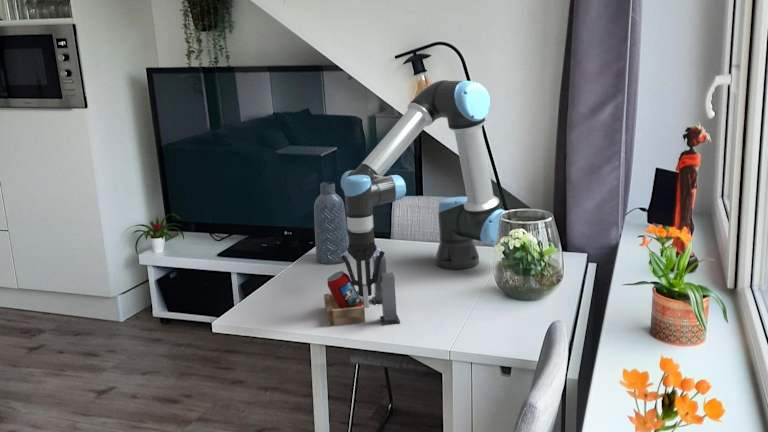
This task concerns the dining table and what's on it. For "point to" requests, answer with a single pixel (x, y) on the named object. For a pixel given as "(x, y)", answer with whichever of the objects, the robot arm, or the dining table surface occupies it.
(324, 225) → the vase
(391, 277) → the post near
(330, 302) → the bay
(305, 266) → the dining table surface
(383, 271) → the post far
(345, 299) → the beverage can
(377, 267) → the robot arm
